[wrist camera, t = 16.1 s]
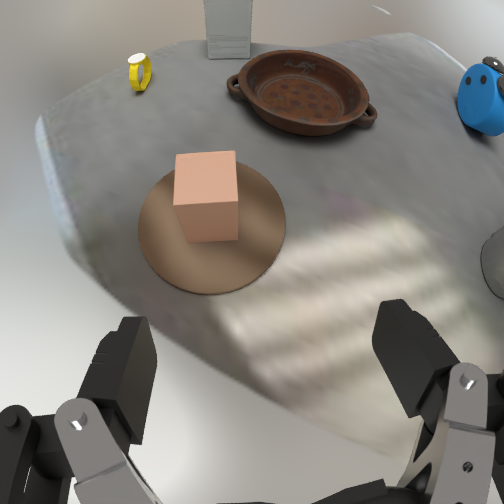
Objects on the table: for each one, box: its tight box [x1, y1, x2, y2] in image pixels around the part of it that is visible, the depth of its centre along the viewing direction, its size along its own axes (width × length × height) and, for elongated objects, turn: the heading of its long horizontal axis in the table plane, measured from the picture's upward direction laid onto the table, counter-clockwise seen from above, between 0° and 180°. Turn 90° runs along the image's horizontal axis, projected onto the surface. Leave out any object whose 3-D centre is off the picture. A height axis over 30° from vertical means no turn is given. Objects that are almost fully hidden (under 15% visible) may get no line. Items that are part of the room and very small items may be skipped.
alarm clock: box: [457, 57, 504, 137], centre depth 37 cm, size 13×6×15 cm, turn 171°
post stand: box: [138, 162, 285, 295], centre depth 30 cm, size 16×16×7 cm
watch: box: [128, 53, 151, 91], centre depth 39 cm, size 6×3×6 cm, turn 174°
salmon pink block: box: [173, 151, 238, 243], centre depth 29 cm, size 5×5×8 cm
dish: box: [227, 50, 377, 136], centre depth 39 cm, size 18×22×5 cm
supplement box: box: [203, 0, 252, 59], centre depth 40 cm, size 7×7×13 cm
